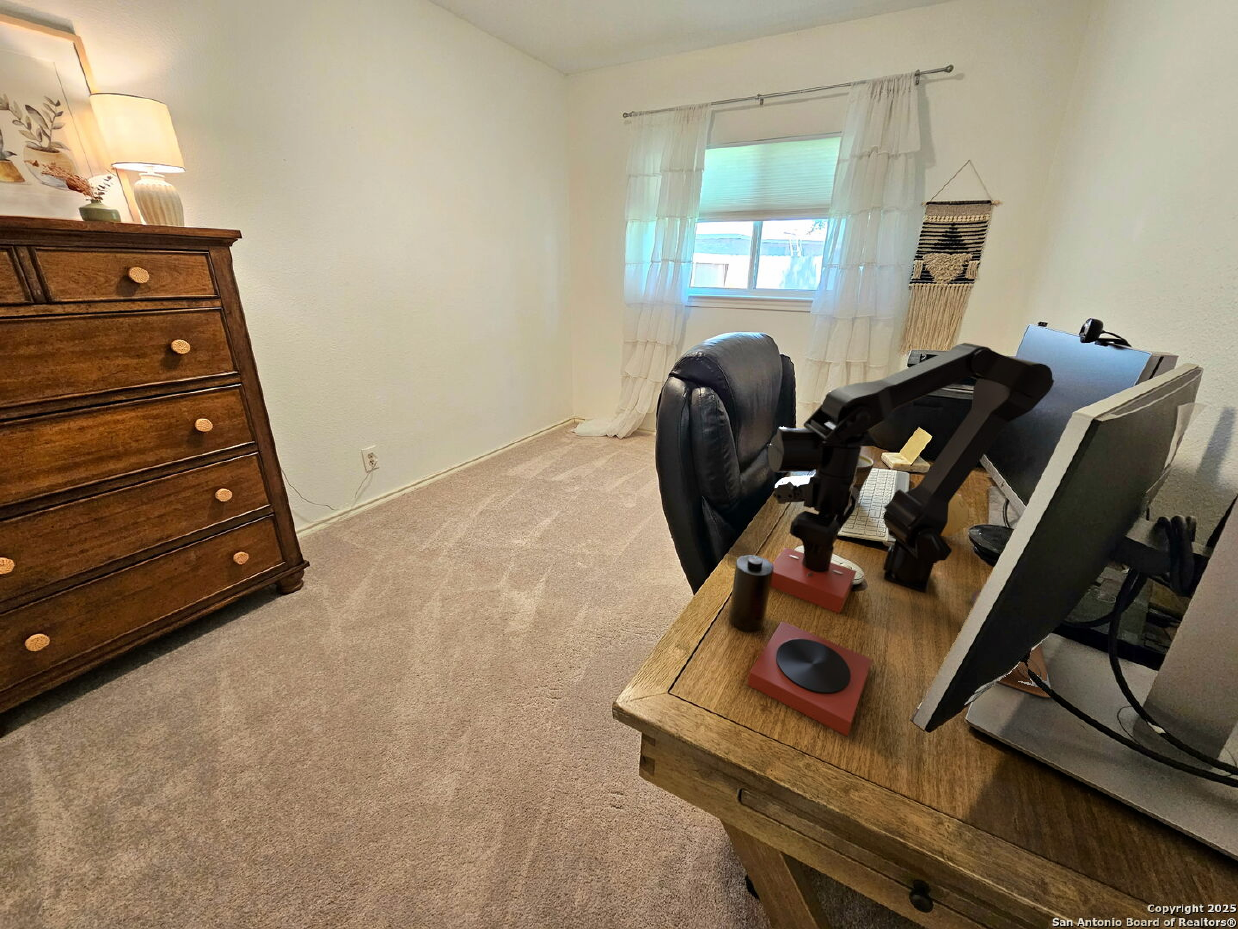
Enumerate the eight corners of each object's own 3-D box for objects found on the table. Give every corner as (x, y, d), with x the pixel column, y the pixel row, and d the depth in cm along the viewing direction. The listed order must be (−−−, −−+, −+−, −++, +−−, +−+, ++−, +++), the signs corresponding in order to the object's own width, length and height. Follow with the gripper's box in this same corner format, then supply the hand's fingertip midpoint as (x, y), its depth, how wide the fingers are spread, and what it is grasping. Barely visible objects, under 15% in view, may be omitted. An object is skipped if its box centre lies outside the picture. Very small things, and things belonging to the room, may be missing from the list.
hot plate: (868, 671, 64) (872, 657, 63) (847, 736, 55) (851, 720, 54) (779, 633, 71) (782, 619, 70) (747, 685, 62) (750, 670, 61)
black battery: (771, 624, 72) (782, 563, 68) (746, 637, 69) (756, 575, 65) (745, 605, 76) (754, 546, 72) (721, 616, 74) (729, 556, 69)
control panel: (855, 580, 83) (859, 565, 82) (839, 613, 75) (843, 597, 74) (786, 556, 89) (788, 542, 88) (764, 584, 81) (767, 568, 80)
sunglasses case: (1059, 701, 60) (1041, 654, 59) (991, 700, 64) (973, 656, 63) (1035, 618, 74) (1020, 580, 73) (980, 623, 78) (966, 586, 78)
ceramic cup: (824, 485, 120) (832, 447, 116) (868, 496, 114) (877, 457, 110) (809, 504, 110) (817, 463, 106) (856, 517, 104) (866, 475, 101)
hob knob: (806, 554, 85) (810, 533, 83) (832, 563, 82) (837, 541, 81) (798, 566, 81) (802, 544, 80) (825, 575, 79) (830, 553, 77)
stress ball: (893, 525, 102) (905, 482, 98) (928, 518, 105) (940, 476, 101) (936, 549, 93) (951, 503, 89) (972, 541, 96) (988, 496, 92)
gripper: (801, 443, 86) (788, 520, 92) (763, 476, 72) (750, 563, 78) (869, 458, 80) (850, 538, 86) (842, 496, 66) (821, 589, 72)
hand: (817, 555), depth 81 cm, fingers open, 9 cm apart
